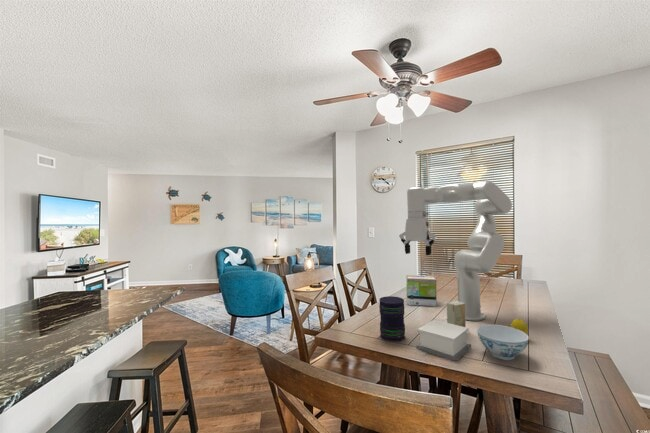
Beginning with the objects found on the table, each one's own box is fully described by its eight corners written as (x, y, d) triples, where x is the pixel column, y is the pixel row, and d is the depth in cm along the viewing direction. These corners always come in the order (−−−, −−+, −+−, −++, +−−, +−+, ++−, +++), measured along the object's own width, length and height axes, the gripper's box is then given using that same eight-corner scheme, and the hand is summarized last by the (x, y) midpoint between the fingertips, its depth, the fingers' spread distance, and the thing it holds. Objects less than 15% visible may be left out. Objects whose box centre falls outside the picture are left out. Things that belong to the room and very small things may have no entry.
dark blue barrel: (410, 336, 116) (409, 299, 116) (395, 344, 109) (394, 304, 109) (389, 330, 123) (388, 295, 123) (375, 336, 117) (374, 299, 117)
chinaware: (476, 359, 96) (475, 336, 96) (479, 342, 109) (478, 322, 109) (531, 371, 88) (530, 345, 88) (527, 351, 101) (526, 329, 101)
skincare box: (455, 336, 115) (454, 305, 115) (446, 332, 119) (445, 302, 119) (466, 332, 118) (465, 302, 118) (457, 329, 122) (456, 300, 122)
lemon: (528, 343, 107) (528, 322, 107) (510, 340, 110) (510, 319, 110) (527, 338, 111) (527, 317, 112) (510, 335, 114) (510, 315, 114)
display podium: (433, 336, 115) (433, 319, 115) (470, 347, 105) (470, 327, 105) (416, 348, 105) (415, 329, 106) (455, 361, 95) (454, 339, 96)
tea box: (407, 305, 156) (406, 278, 156) (406, 300, 166) (405, 274, 166) (437, 306, 153) (436, 278, 153) (434, 301, 163) (433, 275, 163)
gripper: (439, 214, 124) (440, 254, 124) (403, 215, 136) (404, 252, 136) (431, 215, 119) (432, 256, 119) (394, 216, 131) (396, 253, 131)
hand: (417, 254), depth 127 cm, fingers open, 9 cm apart
